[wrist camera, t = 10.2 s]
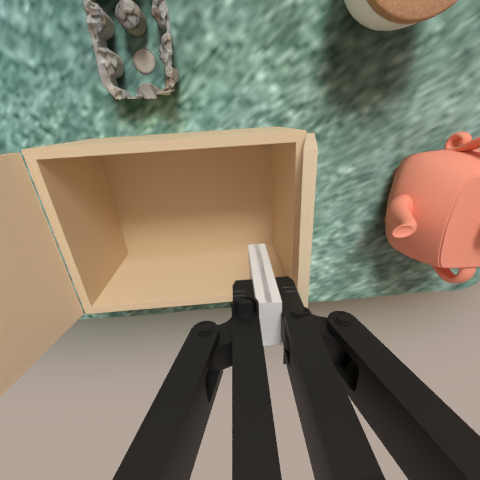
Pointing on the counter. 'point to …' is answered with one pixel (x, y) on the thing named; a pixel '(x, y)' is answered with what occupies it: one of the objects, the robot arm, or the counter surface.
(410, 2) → the lidded jar
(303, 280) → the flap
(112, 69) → the egg carton
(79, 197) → the carton
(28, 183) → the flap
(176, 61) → the counter surface
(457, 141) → the teapot
